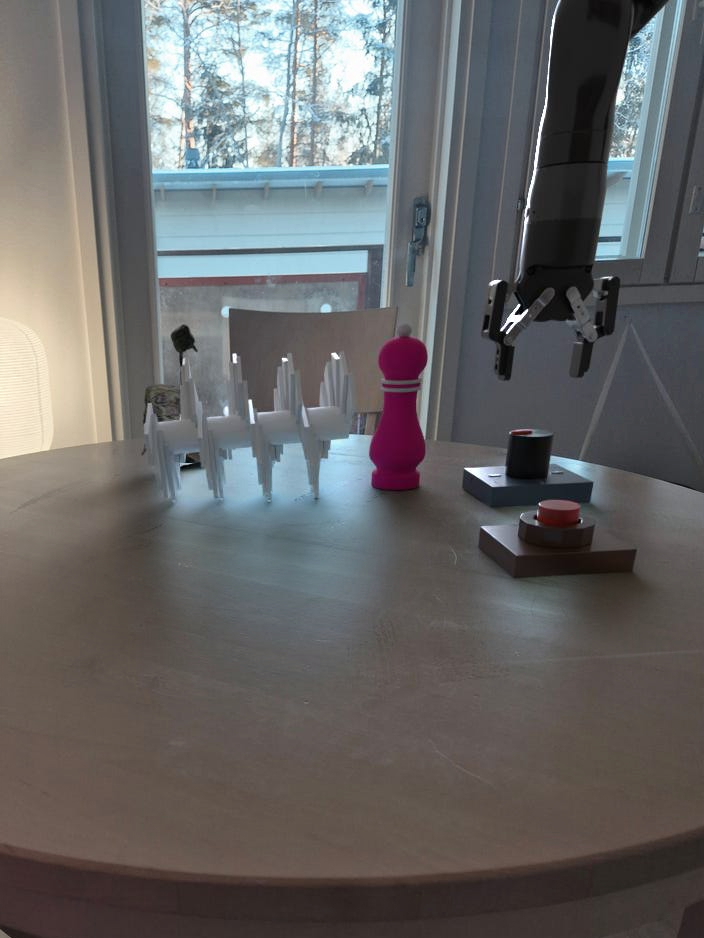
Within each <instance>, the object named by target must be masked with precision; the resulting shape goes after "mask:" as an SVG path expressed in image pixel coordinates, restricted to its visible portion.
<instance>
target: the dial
mask: <svg viewBox="0 0 704 938" xmlns="http://www.w3.org/2000/svg"><path fill="white" fill-rule="evenodd" d="M554 438H555V433H554V432H553V431H551V430H547V429H534V428H523V429H520V428H519V429H514V430H510V431H509V434H508V441H507V448H506V449H507V450H506V457H505V465H504V466H505V472H504V473H505V475H507V476H509V477H513V478H520V479H539V478H544V477H547V476H548V471H549V464H551V463H550V462H551V457H552V451H553V445H554Z"/></svg>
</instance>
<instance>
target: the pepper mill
mask: <svg viewBox="0 0 704 938" xmlns="http://www.w3.org/2000/svg"><path fill="white" fill-rule="evenodd" d="M412 332H413V327H412V325H411V324H410V323H408V322H401V323H400V324H398V326H397V328H396V333H397V335H398V336H395V337H393V338H391V339H389V340H387V341H385V343H384V344H383V345H382V346H381V348H380V350H379V353H378V359H377V363H378V364H377V365H378V368H379V370H380V371H381V373H382V374H383V378H381V380H380V382H381V387H380V390H381V391H382V392H383V406H382V407H383V408H382V413H381V415H380V420H379V422H378V425H377V426H376V429H375V431H374V433H373V435H372V438H371V440H370V444H369V449H368V457H369V460H370V461H371V463H373V465H374V466H375V467H376V468H375V469H373V470H372V472H371V482H370V483H371V484H370V485H372V487H374V488H376V489H380V490H386V491H406V490H407V491H408V490H412V489H416V488H418V487H419V485H420V481H421V480H420V478H421V471H419V470H418V469H417V468H418V467H419V465H420V464H421V463H422V462H423V460H424V459H425V457H426V441H425V436H424V433H423V429H422V427H421V425H420V422H419V417H418V412H417V399H418V392H419V391H420V390H422V386H421V385H422V383H421V382H423V378H421V377H420V376H421V374H422V372H423V371H424V370H425V369H426V367H427V365H428V360H429V358H428V357H429V353H428V350H427V346H426V345H425V343H424V342H423V341H422V340H421V339H419V338H417V337H415V336H411V334H412Z"/></svg>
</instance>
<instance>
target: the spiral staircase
mask: <svg viewBox="0 0 704 938" xmlns="http://www.w3.org/2000/svg"><path fill="white" fill-rule="evenodd" d="M330 353H331V355H330V356H331V359H330V361H326V364H325V367H324V371H323V380H324V381H320V385H319V386H320V387H319V402H318V403H319V405H318V406H319V407H318V406H317V407H305V404H304V400H303V392H302V381H301V370H300V369H295V368H294V367H295V366H294V361H293V355H292V352H287V353H286V356H287V357H281V366H277V374H276V385H277V386H276V387H277V388H273V408H274V409H273V411H263V412H258V408H254V407H253V400H252V399H250V398H249V389H248V380H243V374H242V361H241V355H237V353H232V361H229V362H228V367H229V368H228V371H229V378H226V379H225V382H226V394H227V395H226V397H227V406H225V407H224V415H221V416H219V415H218V416H209V417H208V416H207V415H208V414H207V413H206V412H204V411H203V403H202V402H203V401H202V400H199V395H198V392H197V388H196V384H195V379H194V378H192V372H191V365H190V357H188V356H185V357H184V356H183V364H182V366H181V367H180V366H179V370H180V369H181V381H180V383H181V382H182V385H181V384H180V385H179V388H180V402H181V414H180V418H179V420H175V421H164V422H158V420H157V417H156V414H153V407H152V403H148V406H147V414H146V423H145V424H144V425H143V436H144V445H145V446H146V451H145V452H146V455H147V459H148V465H149V467H153V475H154V478H155V481H156V484H157V488H158V491H163V499H170V498H171V501H172V500H176V497H177V498H178V491H182V483H181V467H180V463H185V458H186V454H189V453H193V452H200V459H201V462H200V467H201V469H205V476H206V481H207V486H208V491H212V492H213V498H214V499H218V498H219V499H220V498H223V499H224V485H227V480H226V477H227V476H226V467H225V460H229V461H230V460H231V461H232V460H233V451H234V450H236V449H247V448H251V454H252V458H256V459H255V460H256V470H257V481H258V482H257V483H258V485H259V486H260V485H261V488H262V490H261V491H262V496H264V497H265V496H266V499H267V500H271V501H272V492H273V468H275V464H276V463H280V462H281V455H284V445H292V444H301V446H302V451H303V455H304V456H303V457H304V459H305V462H306V470H307V479H308V485H309V486H310V487H309V488H310V494H313V497H314V499H315V498H319V499H320V497H319V496H320V469H321V460H323V459H324V460H327V459H329V451H331V444H332V441H337V440H348V439H349V438H350V428H351V427H350V424H351V421H352V419H353V418H354V415H355V413H356V410H357V407H358V401H357V389H356V376H355V375H356V374H355V370H352V371H349V370H348V366H347V361H346V355H345V351H344V350H340V351H339V354H337V352H330ZM338 355H339V356H338ZM271 491H272V492H271ZM267 500H266V501H267Z"/></svg>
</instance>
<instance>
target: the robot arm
mask: <svg viewBox="0 0 704 938" xmlns="http://www.w3.org/2000/svg"><path fill="white" fill-rule="evenodd" d="M669 1H670V0H558V1H557V4H556V6H555V10H554V13H553V18H552V24H551V25H552V26H551V33H550V49H549V60H548V70H547V71H548V72H547V73H548V74H547V83H546V95H545V96H546V97H545V105H544V109H543V113H542V117H541V120H540V126H539V131H538V138H537V143H536V144H537V145H536V152H535V159H534V170H533V173H532V174H533V175H532V178H531V179H532V180H531V184H530V187H529V191H528V197H527V205H526V208H525V212H524V218H525V219H524V228H523V236H522V243H521V253H520V258H519V259H520V260H519V274H518V276H517V279H516V281H515V282H513V281H512V282H511V281H506V280H505V279H504V280H503V279H501V280H492V281H490V282H489V283H488V286H487V291H486V298H485V304H484V311H483V316H482V323H481V329H480V336H481V338H482V339H484V340H488V341H490V342H493V343H494V344H495V354H494V355H495V356H494V362H493V363H494V364H493V374H494V375H497V380H499V381H502V382H507V381H510V380H511V378H512V372H513V366H514V365H513V363H514V356H515V348H516V346H515V345H514V343H515V341H516V340H517V339H518V337H519V336H520V335H521V334H522V333H523V331H525V330H526V329H527V328H528V327H529V326H531V324H532V322H535V323H546V322H550V321H551V322H565V323H566V324H567V326H568V327H570V329H571V330H572V332H573V334H574V336H575V338H576V340H577V341H574V342H573V345H572V351H571V358H570V364H569V370H568V375H569V377H570V378H574V379H582V378H583V377H584V376H585V373H588V371H589V369H590V366H591V361H592V355H593V350H594V349H593V348H594V345H595V342H596V341H597V340H599V339H601V338H603V337H606V336H611V335H613V333H614V332H615V329H616V328H615V327H616V319H617V311H618V303H619V294H620V286H621V279H620V277H619V276H615V275H614V276H613V275H609V276H608V275H607V276H602V277H600V278H594V277H593V267H594V265H595V261H596V257H597V256H596V255H597V251H598V244H599V239H600V231H601V226H602V220H603V213H604V208H605V203H606V202H605V200H606V195H607V185H608V167H609V165H608V164H609V159H610V152H611V147H612V141H613V135H614V129H615V118H616V107H617V97H618V92H619V88H620V84H621V80H622V75H623V71H624V67H625V62H626V58H627V54H628V53H627V52H628V48H629V43H630V41H632V40H633V39H634V38H636V36H637V35H638V34H639V33H640V32H641V31H642V30H643V29H644V28H645V27H646V26H647V24H649V22H651V20H652V19H654V17H655V16H657V14H659V12H660V11H661V10H662V9H663V8H664V7H665V6H666V5H667V4H668V3H669ZM591 293H592V295H593V298H594V299H595V304H594V305H595V306H594V315H593V321H592V317H591V315H590V312H589V311H588V308H587V307H586V305H585V303H584V302H585V300H586V299H587V298H588V296H589V295H590V294H591ZM512 295H513V296H514V297H515V299H516V301H517V303H518V305H517V306H516V308H515V309H514V310H513V312H512V313H511V314H510V315H509V317H507V320H506V323H505V324H504V326H502V321H503V316H504V309H505V304H506V303H508V302H509V301H510V299H511V297H512ZM501 326H502V327H501Z"/></svg>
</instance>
